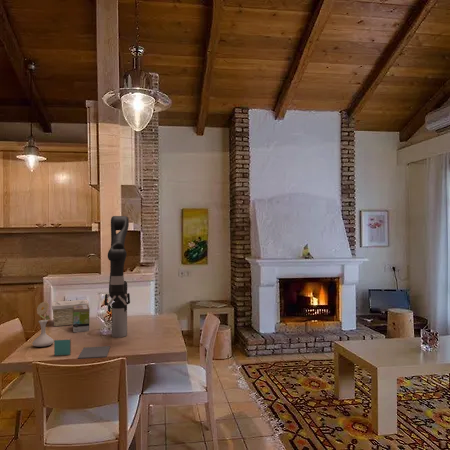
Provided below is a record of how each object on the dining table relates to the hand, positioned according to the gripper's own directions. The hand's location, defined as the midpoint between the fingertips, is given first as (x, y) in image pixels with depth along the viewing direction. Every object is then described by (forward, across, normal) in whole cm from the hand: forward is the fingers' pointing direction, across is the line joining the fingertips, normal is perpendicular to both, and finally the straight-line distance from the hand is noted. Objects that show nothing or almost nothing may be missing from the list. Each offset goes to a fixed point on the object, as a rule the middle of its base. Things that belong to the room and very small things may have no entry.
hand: (117, 311), depth 239 cm
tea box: (+16, +26, -35) cm, 47 cm away
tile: (+18, +26, +19) cm, 37 cm away
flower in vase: (+17, +40, 0) cm, 44 cm away
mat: (+18, +10, +19) cm, 28 cm away
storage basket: (+16, +36, -55) cm, 68 cm away
